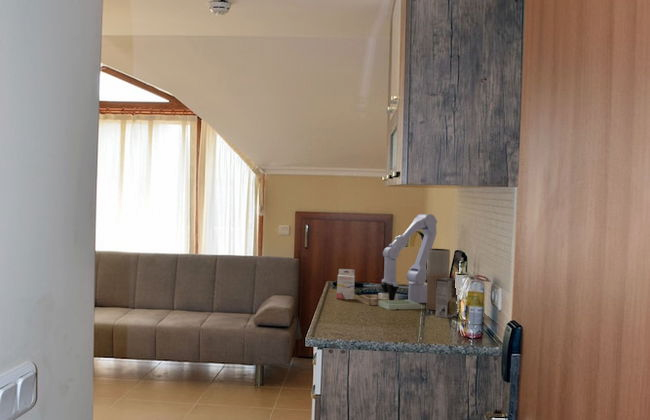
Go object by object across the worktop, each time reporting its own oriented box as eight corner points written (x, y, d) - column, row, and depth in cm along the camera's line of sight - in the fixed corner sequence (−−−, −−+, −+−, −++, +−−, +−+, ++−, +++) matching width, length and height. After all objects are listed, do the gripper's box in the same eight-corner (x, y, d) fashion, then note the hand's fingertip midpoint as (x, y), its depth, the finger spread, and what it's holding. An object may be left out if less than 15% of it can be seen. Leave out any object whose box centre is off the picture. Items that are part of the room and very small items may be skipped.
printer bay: (376, 300, 313) (376, 294, 313) (387, 304, 300) (387, 298, 300) (358, 301, 310) (359, 294, 310) (369, 305, 297) (369, 298, 297)
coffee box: (446, 314, 279) (448, 277, 279) (459, 316, 275) (460, 279, 275) (434, 315, 273) (435, 278, 273) (447, 318, 268) (448, 280, 268)
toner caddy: (393, 301, 311) (393, 291, 311) (397, 303, 306) (397, 292, 306) (378, 302, 308) (378, 291, 308) (382, 303, 304) (382, 293, 304)
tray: (408, 305, 302) (409, 300, 302) (420, 309, 291) (420, 304, 291) (378, 305, 297) (378, 300, 297) (388, 309, 286) (388, 304, 286)
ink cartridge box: (336, 299, 314) (337, 269, 314) (337, 297, 319) (338, 268, 319) (353, 299, 313) (354, 270, 313) (354, 298, 318) (355, 269, 318)
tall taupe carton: (451, 310, 289) (453, 250, 289) (431, 311, 286) (433, 249, 286) (442, 307, 298) (444, 248, 298) (422, 307, 296) (424, 248, 296)
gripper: (376, 270, 313) (375, 297, 313) (388, 273, 299) (387, 301, 299) (389, 270, 315) (388, 297, 315) (402, 273, 302) (401, 301, 302)
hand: (389, 299), depth 308 cm, fingers closed on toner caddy, 5 cm apart
